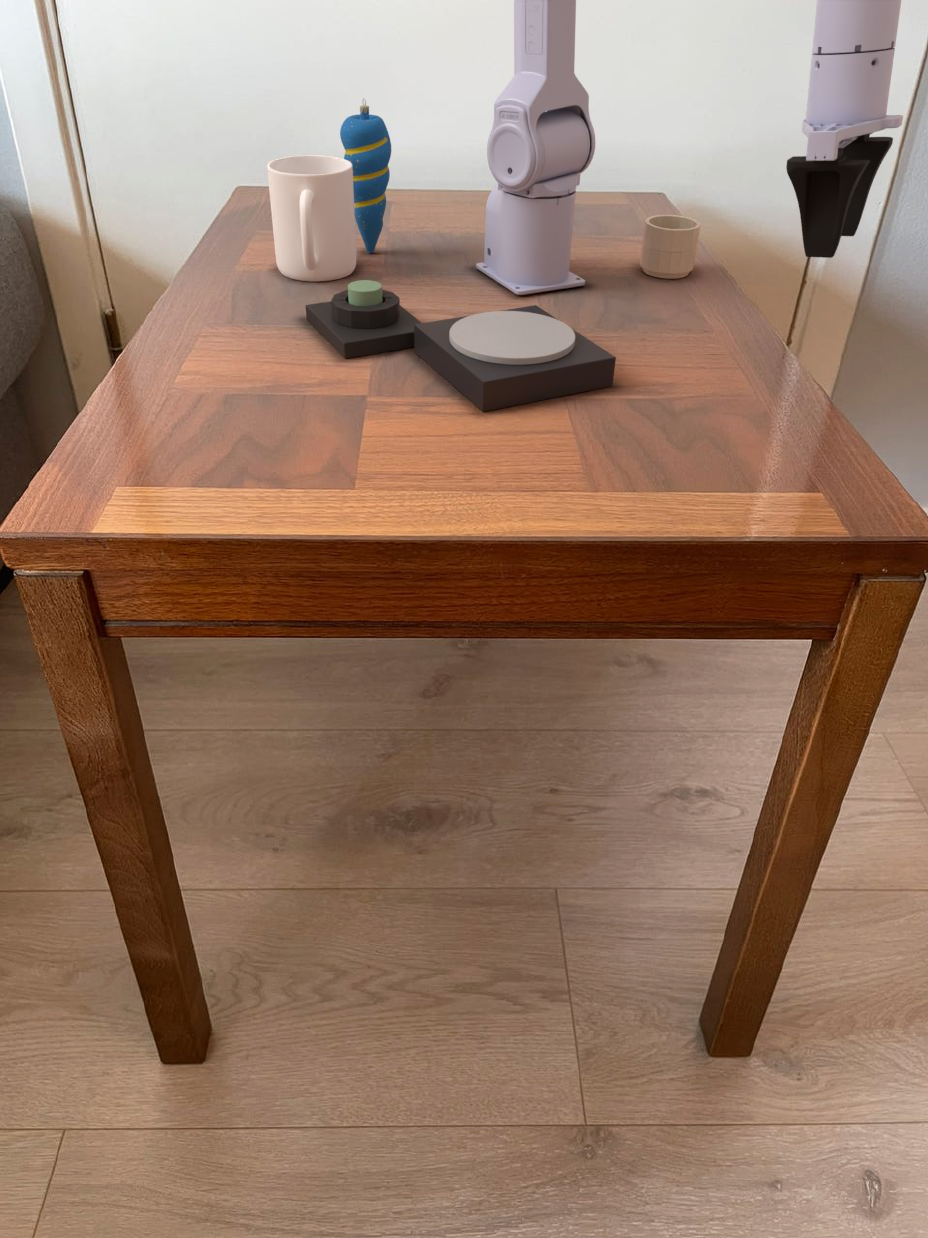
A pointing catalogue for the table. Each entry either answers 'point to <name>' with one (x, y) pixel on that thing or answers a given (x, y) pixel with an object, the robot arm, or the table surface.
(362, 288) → the button
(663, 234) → the beige handleless cup
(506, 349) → the scale
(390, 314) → the pad
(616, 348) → the table surface
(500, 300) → the table surface
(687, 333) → the table surface
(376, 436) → the table surface
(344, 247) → the cup
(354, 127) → the ornament
